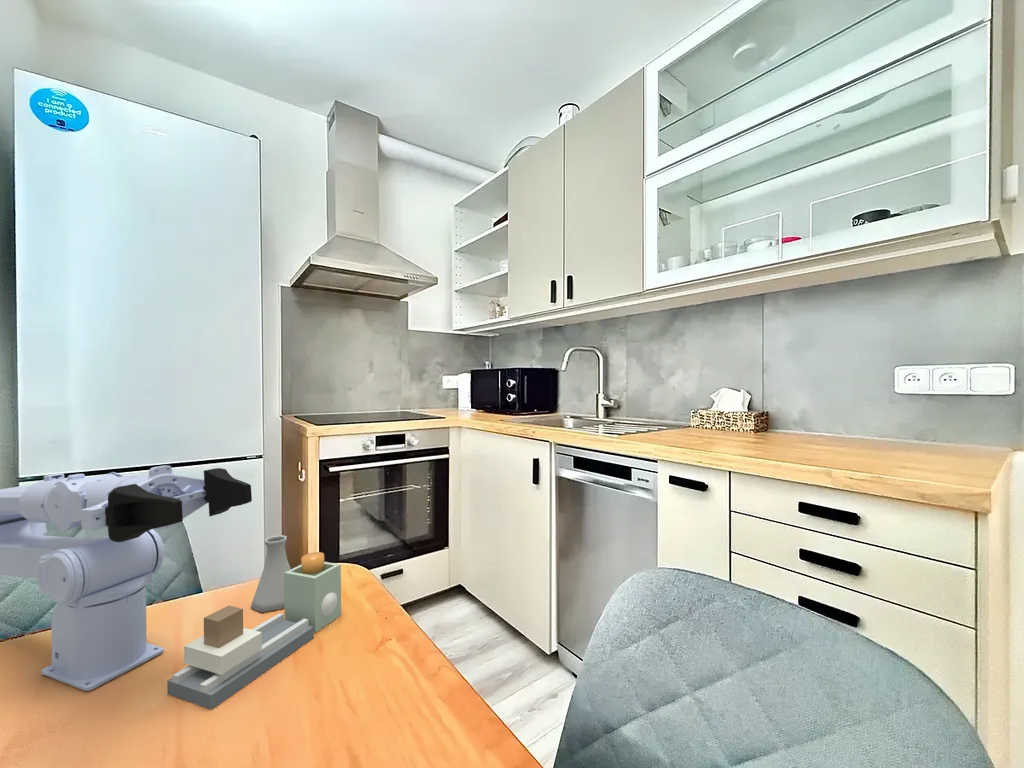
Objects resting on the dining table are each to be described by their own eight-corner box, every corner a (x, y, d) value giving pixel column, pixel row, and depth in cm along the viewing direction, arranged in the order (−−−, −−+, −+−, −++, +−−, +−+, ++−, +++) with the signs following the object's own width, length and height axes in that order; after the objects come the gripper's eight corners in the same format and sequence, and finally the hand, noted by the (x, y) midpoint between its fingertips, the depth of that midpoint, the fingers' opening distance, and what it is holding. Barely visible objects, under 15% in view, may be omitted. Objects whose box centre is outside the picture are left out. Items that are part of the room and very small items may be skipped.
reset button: (296, 572, 63) (296, 558, 63) (313, 564, 66) (312, 551, 66) (313, 575, 62) (313, 561, 62) (328, 567, 65) (328, 553, 65)
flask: (293, 586, 75) (293, 527, 75) (308, 601, 70) (307, 538, 70) (245, 601, 70) (244, 538, 70) (256, 618, 65) (255, 550, 65)
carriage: (184, 663, 50) (183, 619, 50) (226, 639, 55) (225, 599, 55) (221, 675, 48) (221, 629, 48) (262, 649, 53) (261, 607, 53)
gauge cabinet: (284, 625, 63) (284, 572, 63) (311, 608, 67) (311, 559, 67) (316, 633, 61) (315, 578, 61) (342, 615, 65) (341, 564, 65)
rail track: (167, 694, 49) (167, 673, 49) (275, 628, 62) (274, 611, 62) (211, 709, 46) (211, 687, 46) (313, 637, 60) (313, 620, 60)
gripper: (53, 479, 46) (137, 478, 41) (196, 457, 59) (271, 454, 55) (57, 548, 45) (141, 555, 41) (199, 510, 59) (275, 511, 54)
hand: (216, 502), depth 48 cm, fingers open, 7 cm apart
